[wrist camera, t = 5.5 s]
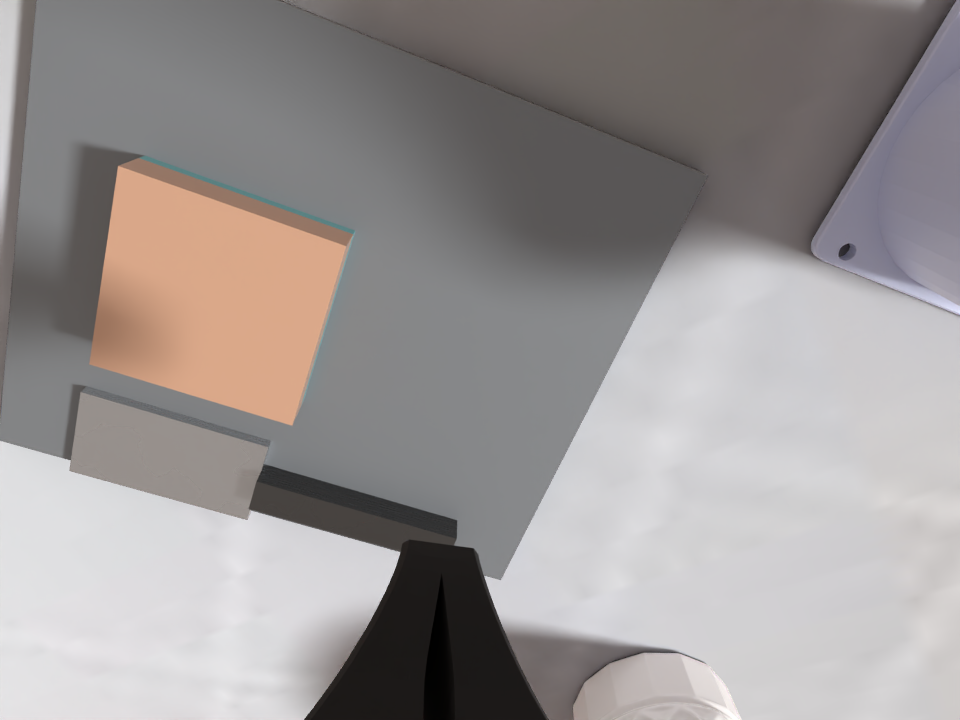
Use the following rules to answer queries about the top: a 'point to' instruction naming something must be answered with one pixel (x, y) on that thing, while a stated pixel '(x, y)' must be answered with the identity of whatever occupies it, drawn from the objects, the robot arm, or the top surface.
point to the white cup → (655, 691)
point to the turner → (230, 473)
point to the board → (373, 252)
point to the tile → (215, 289)
